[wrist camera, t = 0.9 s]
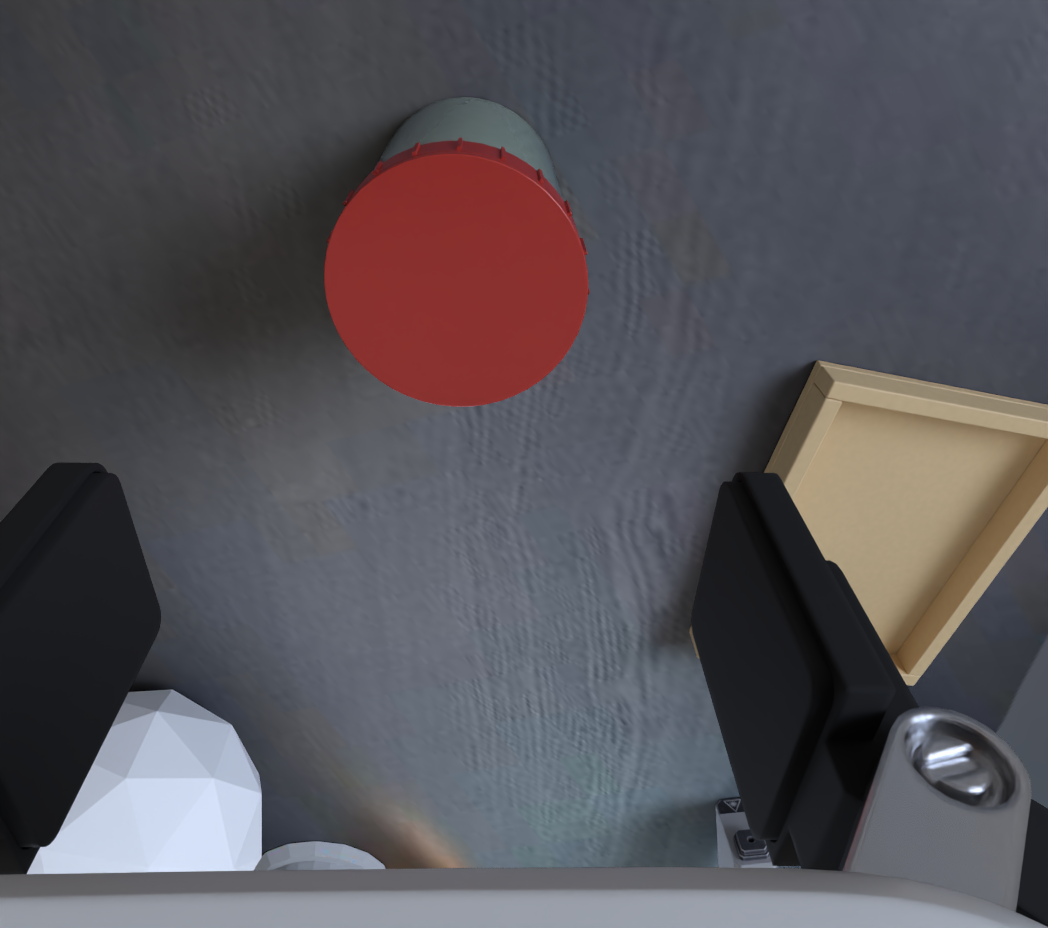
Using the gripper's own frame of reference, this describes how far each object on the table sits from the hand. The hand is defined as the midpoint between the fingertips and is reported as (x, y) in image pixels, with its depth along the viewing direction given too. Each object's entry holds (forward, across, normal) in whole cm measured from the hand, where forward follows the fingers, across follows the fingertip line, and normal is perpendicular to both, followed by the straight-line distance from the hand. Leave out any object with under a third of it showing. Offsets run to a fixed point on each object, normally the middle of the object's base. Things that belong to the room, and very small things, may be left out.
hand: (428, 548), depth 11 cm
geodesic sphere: (+20, +18, +30) cm, 41 cm away
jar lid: (+11, 0, 0) cm, 11 cm away
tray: (+20, -20, +16) cm, 32 cm away
